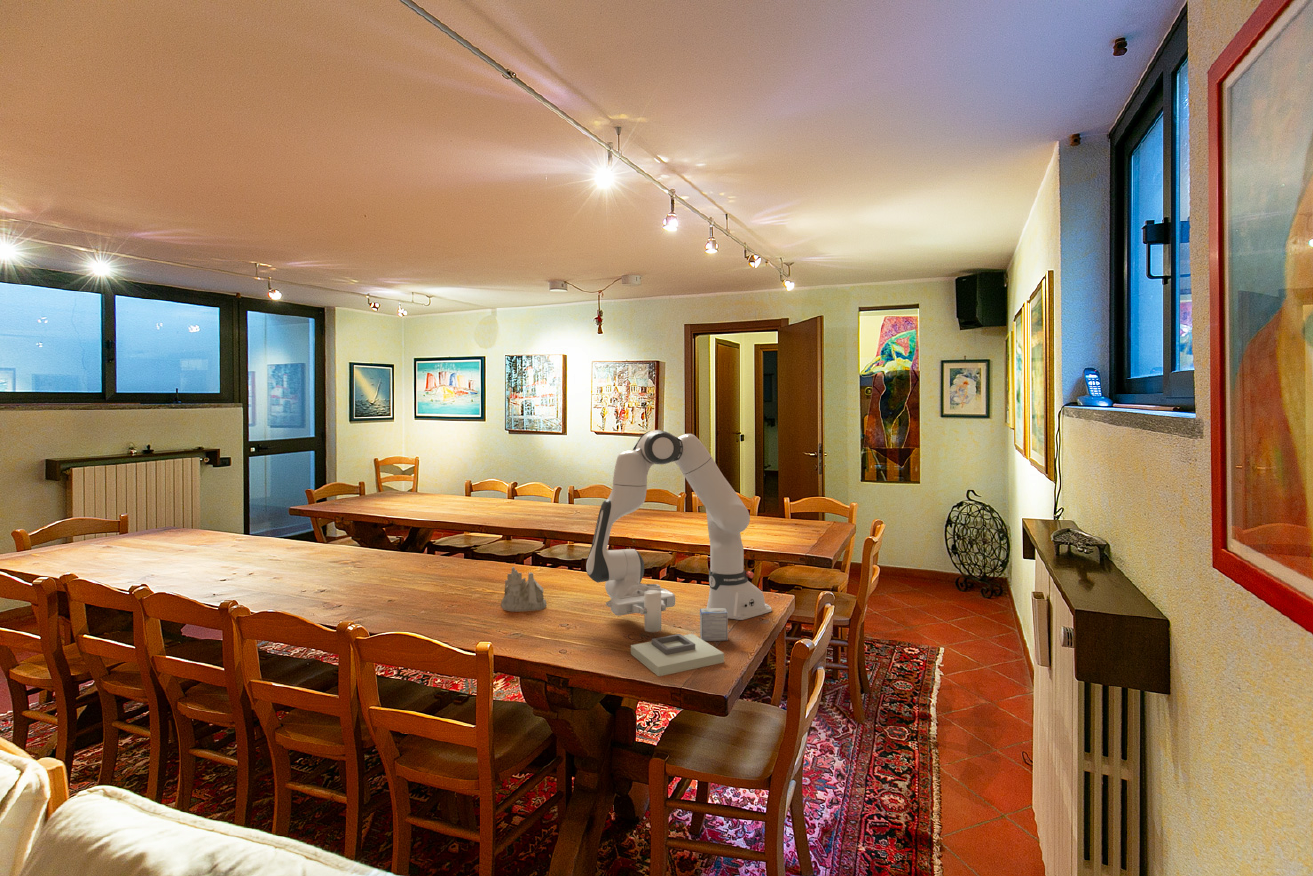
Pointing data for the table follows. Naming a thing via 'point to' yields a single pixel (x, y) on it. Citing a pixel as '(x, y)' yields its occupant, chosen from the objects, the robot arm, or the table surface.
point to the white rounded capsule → (652, 610)
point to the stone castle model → (522, 593)
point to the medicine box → (713, 624)
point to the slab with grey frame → (676, 654)
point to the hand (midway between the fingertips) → (654, 610)
